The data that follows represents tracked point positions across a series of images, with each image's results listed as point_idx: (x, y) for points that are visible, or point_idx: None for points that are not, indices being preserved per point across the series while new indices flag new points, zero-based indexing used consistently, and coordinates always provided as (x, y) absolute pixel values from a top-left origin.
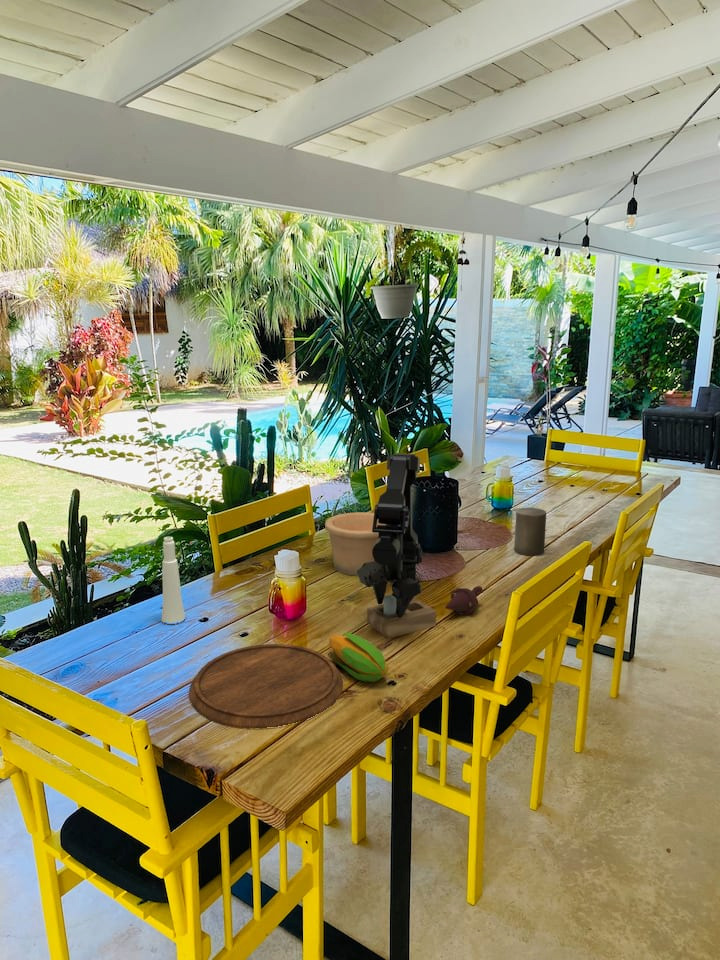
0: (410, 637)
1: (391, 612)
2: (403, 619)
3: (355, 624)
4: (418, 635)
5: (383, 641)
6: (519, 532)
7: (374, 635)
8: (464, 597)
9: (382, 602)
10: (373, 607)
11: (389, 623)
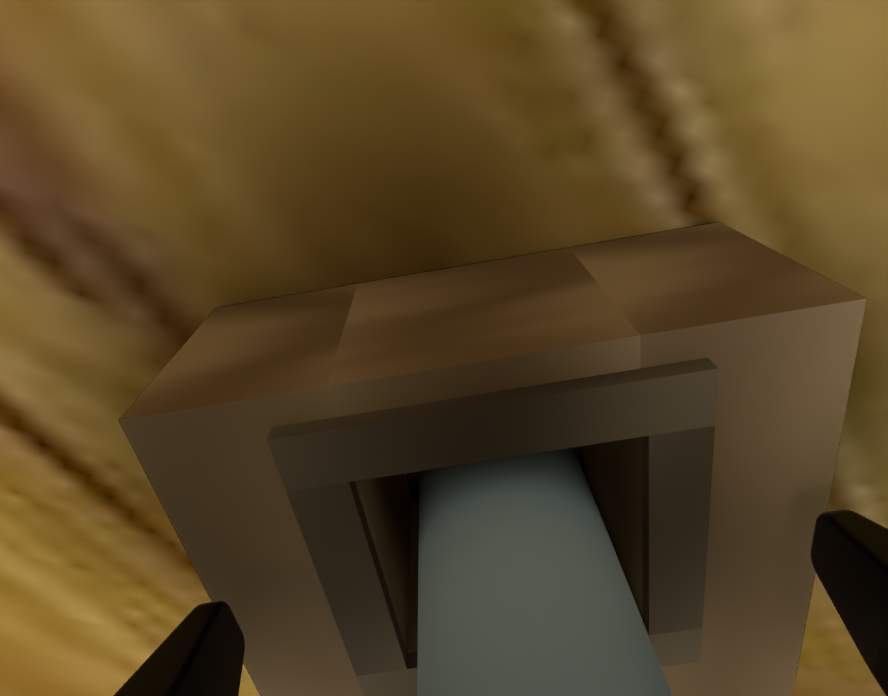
0: None
1: (419, 578)
2: None
3: (773, 38)
4: None
5: (143, 222)
6: None
7: (340, 175)
8: None
9: (823, 582)
10: (820, 404)
11: (133, 427)
